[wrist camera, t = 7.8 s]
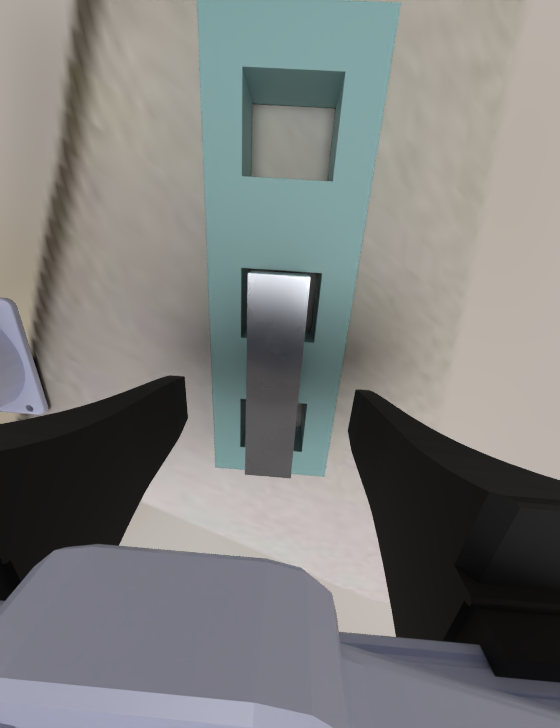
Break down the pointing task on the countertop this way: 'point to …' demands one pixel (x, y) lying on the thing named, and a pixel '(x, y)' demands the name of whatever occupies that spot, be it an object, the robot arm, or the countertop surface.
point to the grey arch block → (273, 369)
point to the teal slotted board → (287, 188)
